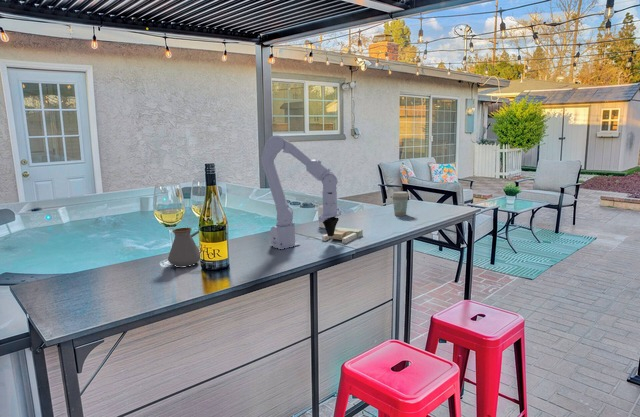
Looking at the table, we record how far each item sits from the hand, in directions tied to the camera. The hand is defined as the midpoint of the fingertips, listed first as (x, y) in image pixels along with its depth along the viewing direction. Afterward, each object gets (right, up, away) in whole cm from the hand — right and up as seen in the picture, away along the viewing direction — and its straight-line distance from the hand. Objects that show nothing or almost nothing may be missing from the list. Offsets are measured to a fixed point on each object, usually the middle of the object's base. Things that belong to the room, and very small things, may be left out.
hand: (330, 235), depth 173 cm
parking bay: (+5, -1, +8) cm, 10 cm away
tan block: (+4, -2, +7) cm, 8 cm away
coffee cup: (+38, +7, +51) cm, 64 cm away
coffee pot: (-49, -9, -17) cm, 52 cm away
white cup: (-1, +2, +30) cm, 30 cm away
